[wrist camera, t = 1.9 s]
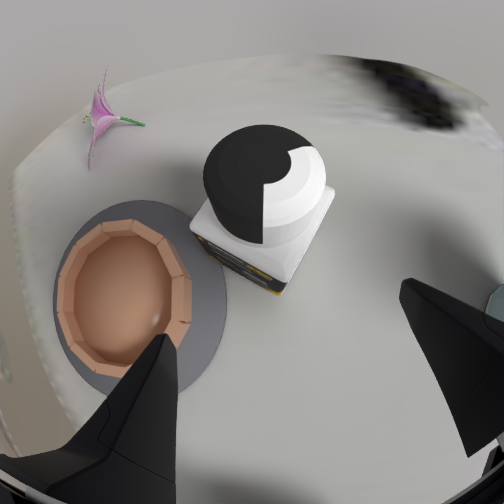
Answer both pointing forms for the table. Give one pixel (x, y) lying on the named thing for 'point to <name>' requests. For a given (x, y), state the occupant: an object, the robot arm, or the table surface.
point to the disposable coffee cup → (496, 304)
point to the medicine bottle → (262, 203)
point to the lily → (102, 116)
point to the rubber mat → (203, 291)
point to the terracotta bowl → (122, 295)
